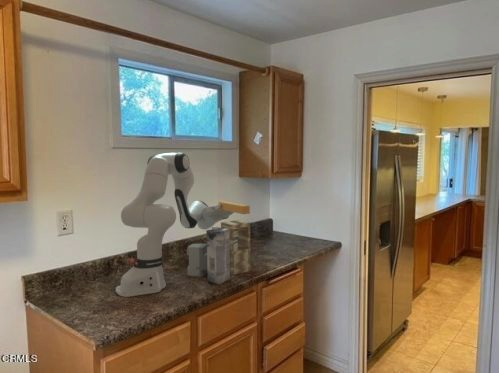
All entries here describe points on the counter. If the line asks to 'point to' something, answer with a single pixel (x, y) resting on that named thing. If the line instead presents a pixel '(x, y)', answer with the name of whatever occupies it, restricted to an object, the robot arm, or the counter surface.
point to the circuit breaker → (197, 260)
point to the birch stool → (239, 246)
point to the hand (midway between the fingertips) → (225, 204)
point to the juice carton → (218, 255)
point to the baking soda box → (235, 239)
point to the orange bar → (235, 207)
